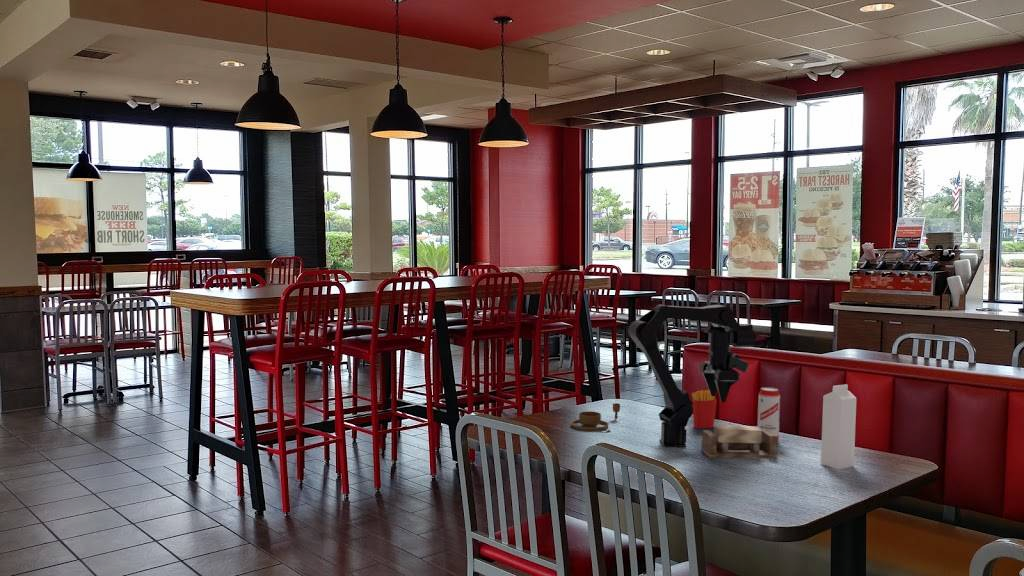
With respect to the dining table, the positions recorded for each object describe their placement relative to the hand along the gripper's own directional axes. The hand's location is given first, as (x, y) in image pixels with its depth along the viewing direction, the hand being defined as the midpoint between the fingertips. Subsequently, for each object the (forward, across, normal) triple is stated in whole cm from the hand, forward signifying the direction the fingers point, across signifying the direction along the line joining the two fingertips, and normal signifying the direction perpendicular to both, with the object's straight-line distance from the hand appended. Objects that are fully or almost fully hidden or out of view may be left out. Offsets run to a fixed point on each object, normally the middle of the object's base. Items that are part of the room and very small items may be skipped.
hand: (718, 399), depth 238 cm
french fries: (+13, +20, -2) cm, 24 cm away
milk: (+13, -25, -25) cm, 38 cm away
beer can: (+13, +1, -16) cm, 21 cm away
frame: (+13, -13, -2) cm, 18 cm away
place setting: (+14, +21, +31) cm, 40 cm away
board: (+9, -13, -2) cm, 16 cm away
